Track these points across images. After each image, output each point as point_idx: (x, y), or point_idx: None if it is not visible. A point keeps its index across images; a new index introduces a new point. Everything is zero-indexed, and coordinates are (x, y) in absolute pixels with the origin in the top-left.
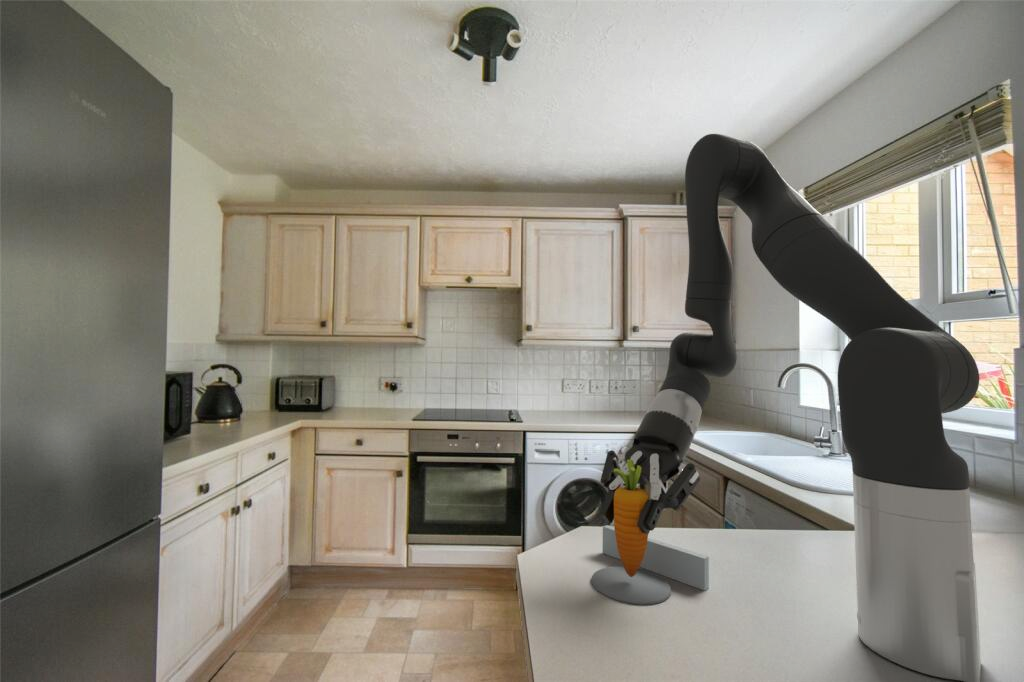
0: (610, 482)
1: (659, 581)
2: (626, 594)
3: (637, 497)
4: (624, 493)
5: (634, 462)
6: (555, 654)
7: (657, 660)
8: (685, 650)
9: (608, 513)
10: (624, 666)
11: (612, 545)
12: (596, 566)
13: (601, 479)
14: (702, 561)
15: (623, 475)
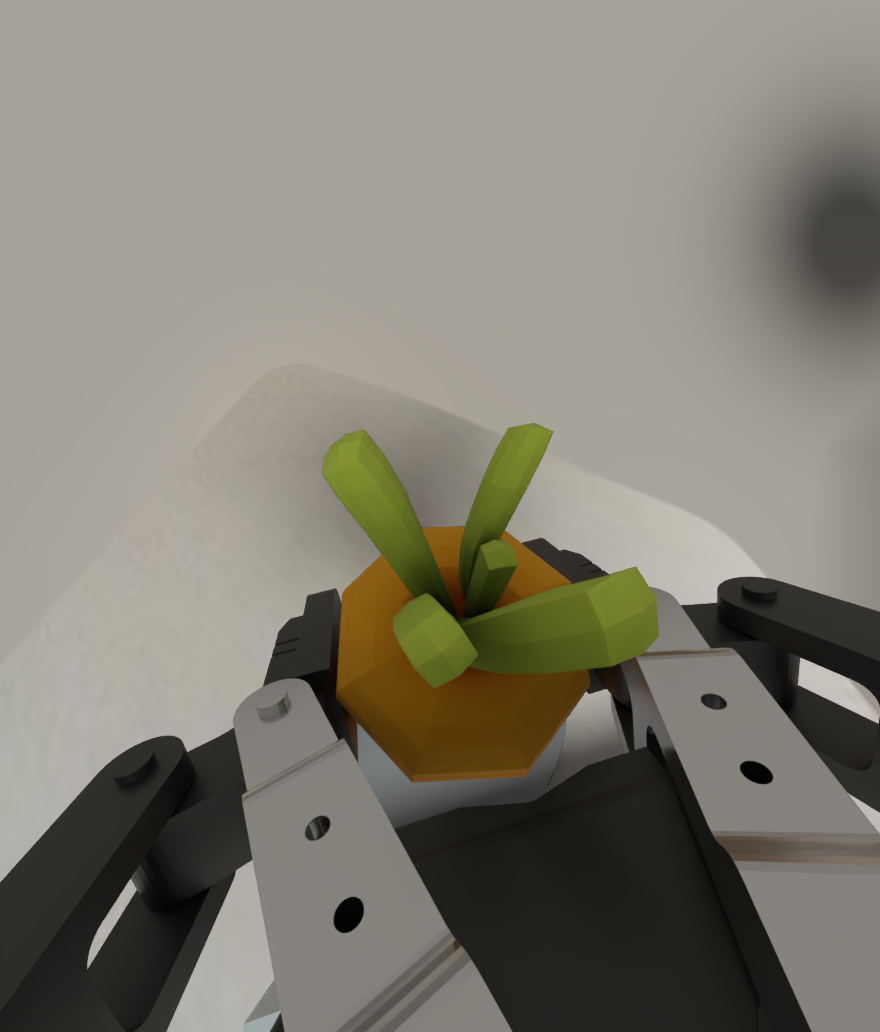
0: (722, 632)
1: (406, 806)
2: None
3: (352, 586)
4: (427, 534)
5: (745, 830)
6: (303, 385)
7: (182, 509)
8: (159, 581)
9: None
10: (212, 451)
11: None
12: (603, 690)
13: (778, 583)
14: (260, 1008)
15: (479, 502)
